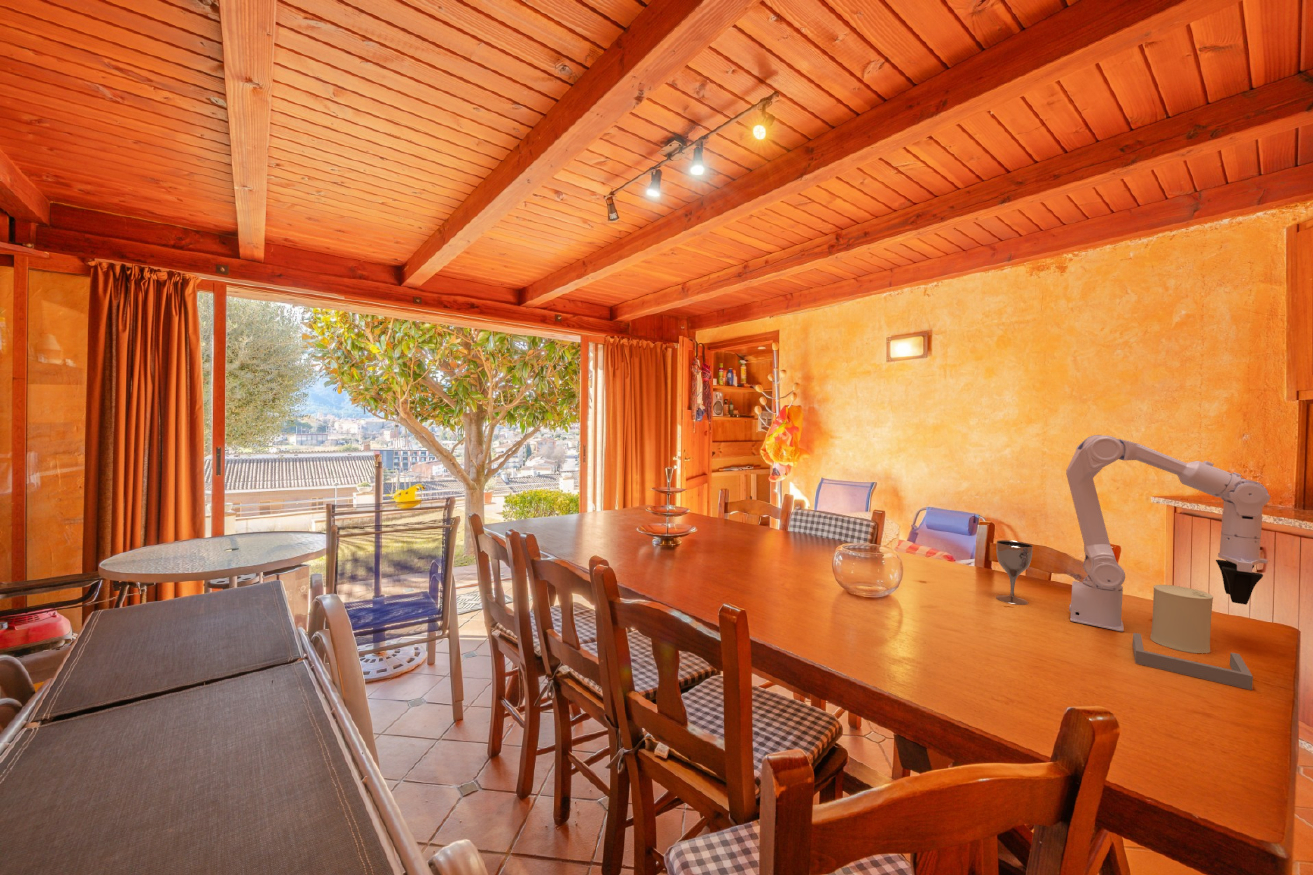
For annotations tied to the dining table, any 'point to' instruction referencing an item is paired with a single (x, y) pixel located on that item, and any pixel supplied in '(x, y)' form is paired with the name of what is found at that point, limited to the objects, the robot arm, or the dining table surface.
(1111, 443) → the robot arm
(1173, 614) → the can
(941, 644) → the dining table surface
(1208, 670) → the holder
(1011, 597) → the wine glass
